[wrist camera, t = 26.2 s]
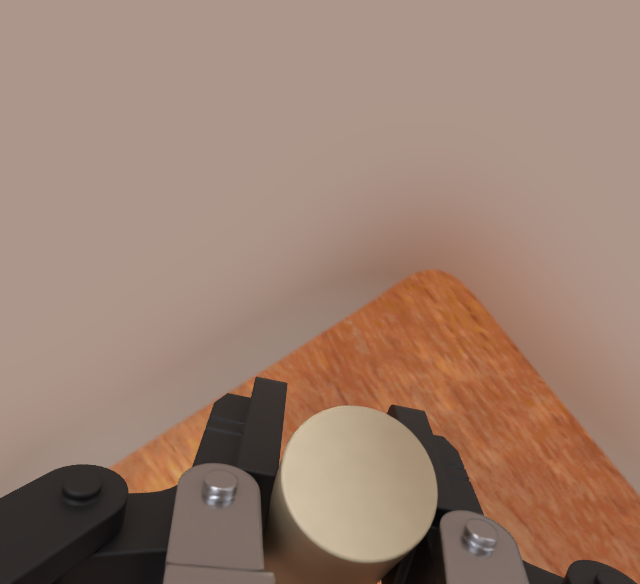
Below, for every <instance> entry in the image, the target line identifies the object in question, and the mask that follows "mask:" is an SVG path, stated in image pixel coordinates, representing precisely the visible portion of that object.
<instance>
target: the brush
mask: <svg viewBox="0 0 640 584" xmlns="http://www.w3.org/2000/svg"><path fill="white" fill-rule="evenodd" d="M437 500H438V488H437V480H436V475H435V471H434V468H433V465H432V462H431V460H430V458H429V456H428V454H427V452H426V450H425V448H424V447H423V445H422V444H421V443H420V441H419V440H418V439H417V438H416V436H415V435H414V434H413V433H412V432H411V431H410V430H409V429H408V428H407V427H405V426H404V425H403V424H402V423H400V422H399V421H398V420H396V419H394V418H393V417H391V416H389V415H387V414H385V413H383V412H380V411H378V410H375V409H371V408H368V407H362V406H339V407H334V408H330V409H327V410H324V411H321V412H319V413H317V414H315V415H314V416H312V417H311V418H309V419H308V420H306V421H305V422H304V423H303V424H302V425H301V426H300V427H299V428H298V429H297V430H296V431H295V432H294V434H293V435H292V437H291V439H290V440H289V442H288V444H287V446H286V449H285V451H284V454H283V457H282V460H281V463H280V466H279V468H278V471H277V475H276V478H275V482H274V486H273V490H272V495H271V500H270V507H269V514H268V518H267V523H266V527H265V531H264V535H263V558H264V570H271V571H273V573H274V577H275V584H377V583H378V582H379V581H380V580H381V579H382V578H383V577H384V576H385V575H386V574H387V573H388V572H389V571H390V570H391V569H392V568H393V567H395V566H396V565H397V564H398V563H399V562H400V561H401V560H402V559H403V558H404V557H405V556H406V555H407V554H408V553H409V552H410V551H411V550H412V549H413V548H414V547H415V546H416V545H418V544H419V543H420V541H421V540H422V539H423V538H424V536H425V535H426V534H427V532H428V530H429V528H430V527H431V524H432V522H433V519H434V517H435V513H436V508H437Z"/></svg>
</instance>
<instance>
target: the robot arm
mask: <svg viewBox="0 0 640 584" xmlns="http://www.w3.org/2000/svg"><path fill="white" fill-rule="evenodd" d="M286 391H287V383H285V382H280V381H275V380H270V379H265V378H260V377H256V378H255V383H254V387H253V392H252V396H251V398H249V397H244V396H239V395H234V394H229V393H227V394H226V395H225V396H223V397H222V398H220V399H219V400H218V401H216V402H215V403H214V405H213V408H212V411H211V414H210V417H209V420H208V423H207V426H206V429H205V431H204V434H203V437H202V440H201V443H200V446H199V449H198V452H197V455H196V457H195V460H194V463H193V466H192V468H190V469H188V470H187V471H185V472H184V473H183V474H182V475H181V477H180V479H179V482H178V485H176V486H174V487H172V488H170V489H166V490H163V491H158V492H151V493H129V494H128V487H127V484H126V482H125V481H124V479H123V478H122V477H121V476H120V475H118V474H117V473H116V472H114V471H112V470H110V469H107V468H104V467H100V466H96V465H71V466H66V467H62V468H59V469H56V470H54V471H51V472H49V473H47V474H45V475H43V476H42V477H40V478H38V479H36V480H34V481H32V482H30V483H28V484H26V485H25V486H23V487H21V488H19V489H17V490H15V491H13V492H11V493H9V494H8V495H6V496H4V497H2V498H0V584H275V577H274V573H273V571H271V570H264V558H263V535H264V531H265V527H266V523H267V518H268V514H269V507H270V500H271V495H272V490H273V486H274V482H275V478H276V475H277V471H278V468H279V459H280V449H281V439H282V430H283V420H284V411H285V401H286ZM387 415H389V416H391V417H393V418H394V419H396V420H398V421H399V422H400V423H402V424H403V425H404V426H405V427H407V428H408V429H409V430H410V431H411V432H412V433H413V434H414V435H415V436H416V438H417V439H418V440H419V441H420V443H421V444H422V445H423V447H424V448H425V450H426V452H427V454H428V456H429V458H430V460H431V462H432V465H433V468H434V471H435V475H436V480H437V488H438V500H437V508H436V513H435V517H434V519H433V522H432V524H431V527H430V528H429V530H428V532H427V534H426V535H425V536H424V538H423V539H422V540H421V541H420V543H419V544H418V545H416V546H415V547H414V548H413V549H412V550H411V551H410V552H409V553H408V554H407V555H406V556H405V557H404V558H403V559H402V560H401V561H400V562H399V563H398V564H397V565H396V566H395V567H393V568H392V569H391V570H390V571H389V572H388V573H387V574H386V575H385V576H384V577H383V578H382V579H381V583H382V584H637V583H635V582H634V581H633V580H632V579H630V578H629V577H628V576H626V575H625V574H623V573H621V572H620V571H618V570H616V569H614V568H612V567H610V566H608V565H605V564H603V563H599V562H596V561H591V560H579V561H575V562H573V563H572V564H571V565H570V566H569V568H568V571H567V573H566V575H565V578H562V577H560V576H558V575H555V574H553V573H550V572H548V571H546V570H543V569H541V568H538V567H536V566H534V565H531V564H529V563H527V562H525V561H523V560H522V558H521V555H520V551H519V548H518V546H517V543H516V541H515V540H514V538H513V537H512V536H511V535H510V533H509V532H508V531H507V530H506V529H504V528H503V527H502V526H501V525H499V524H498V523H496V522H495V521H493V520H491V519H490V518H488V517H486V516H484V514H483V511H482V509H481V507H480V504H479V502H478V499H477V497H476V494H475V492H474V490H473V487H472V485H471V482H469V477H468V475H467V472H466V470H465V469H464V465H463V463H462V460H461V458H460V455H459V453H458V451H457V450H456V449H455V448H454V447H453V446H452V445H451V444H450V443H449V442H448V441H447V440H446V439H445V438H444V437H442V436H437V435H433V433H432V430H431V428H430V425H429V422H428V419H427V416H426V414H425V412H424V411H421V410H416V409H412V408H407V407H402V406H397V405H391V406H390V408H389V410H388V412H387Z"/></svg>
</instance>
